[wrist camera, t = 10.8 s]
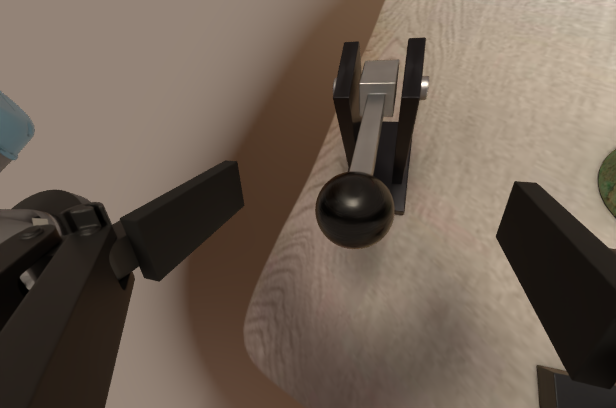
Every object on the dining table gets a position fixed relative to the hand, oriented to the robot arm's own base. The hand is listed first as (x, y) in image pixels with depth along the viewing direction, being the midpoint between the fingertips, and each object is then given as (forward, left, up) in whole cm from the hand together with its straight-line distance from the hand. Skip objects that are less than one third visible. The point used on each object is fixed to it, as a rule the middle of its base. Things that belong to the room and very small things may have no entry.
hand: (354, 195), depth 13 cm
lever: (+1, +3, -3) cm, 4 cm away
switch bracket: (+3, +8, -14) cm, 17 cm away
